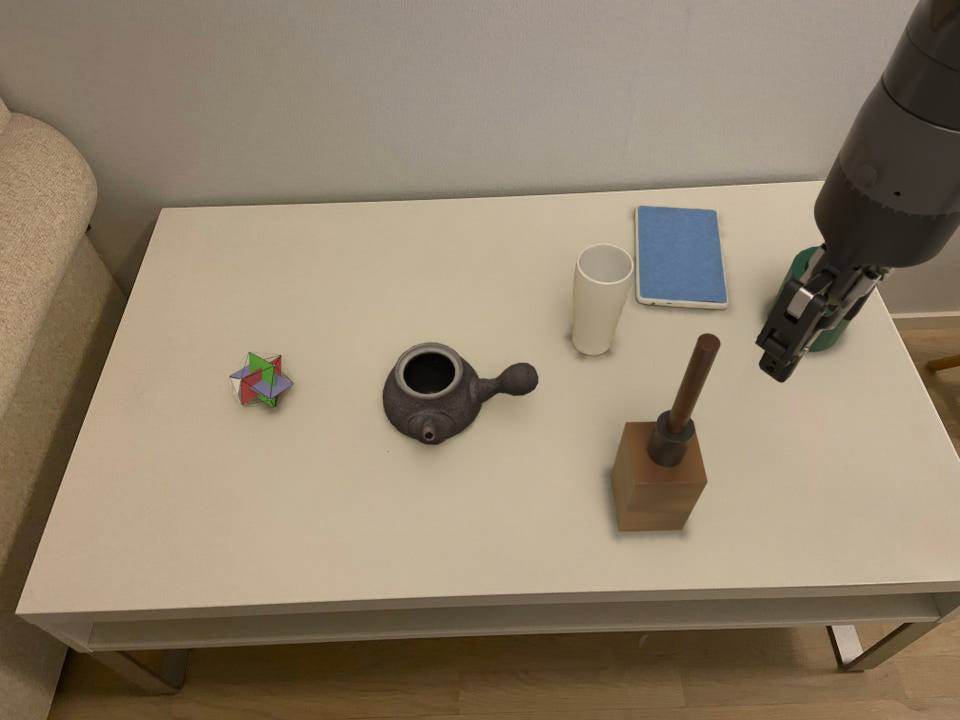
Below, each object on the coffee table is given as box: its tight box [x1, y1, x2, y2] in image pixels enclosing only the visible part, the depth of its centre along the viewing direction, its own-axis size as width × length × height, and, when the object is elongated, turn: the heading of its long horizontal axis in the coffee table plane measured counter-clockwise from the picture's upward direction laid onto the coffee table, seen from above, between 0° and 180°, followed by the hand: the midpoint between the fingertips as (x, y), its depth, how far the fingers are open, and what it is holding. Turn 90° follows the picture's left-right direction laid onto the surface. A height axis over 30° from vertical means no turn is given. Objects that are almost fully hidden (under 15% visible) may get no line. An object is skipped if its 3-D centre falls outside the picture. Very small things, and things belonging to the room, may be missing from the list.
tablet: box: [634, 204, 730, 310], centre depth 101 cm, size 19×13×1 cm, turn 173°
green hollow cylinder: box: [767, 245, 852, 353], centre depth 90 cm, size 9×9×10 cm
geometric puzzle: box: [228, 350, 295, 409], centre depth 87 cm, size 7×7×8 cm
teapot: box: [381, 341, 539, 446], centre depth 83 cm, size 19×15×10 cm
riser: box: [610, 420, 709, 533], centre depth 75 cm, size 7×7×12 cm
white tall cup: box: [571, 242, 635, 356], centre depth 87 cm, size 7×7×15 cm
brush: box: [648, 332, 722, 467], centre depth 63 cm, size 4×4×18 cm
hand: (807, 341), depth 52 cm, fingers open, 8 cm apart
